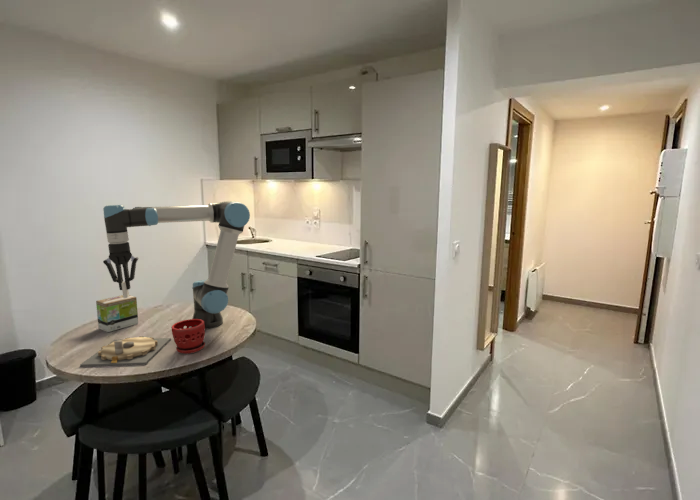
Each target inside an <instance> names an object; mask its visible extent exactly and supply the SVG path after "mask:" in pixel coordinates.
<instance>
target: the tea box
mask: <svg viewBox="0 0 700 500" xmlns="http://www.w3.org/2000/svg"><path fill="white" fill-rule="evenodd" d="M95 303H96V316H97V326H98V329H99V330H101V331H104V332H106V333H111V332H112V331H116V330H119V329H124V328H127V327H128V328H129V327H131V326H135V325H138V324H139V314H138V302H137V296H133V295H130V294H129V297H128V298H123V294H121V295H118V296H113V297H108V298H102V299H98V300H96V302H95Z"/></svg>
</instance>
